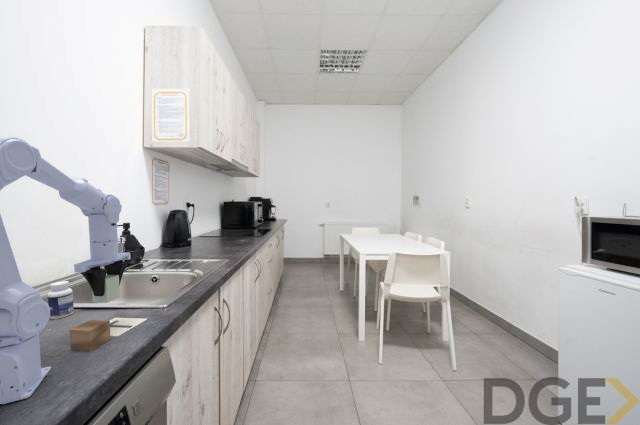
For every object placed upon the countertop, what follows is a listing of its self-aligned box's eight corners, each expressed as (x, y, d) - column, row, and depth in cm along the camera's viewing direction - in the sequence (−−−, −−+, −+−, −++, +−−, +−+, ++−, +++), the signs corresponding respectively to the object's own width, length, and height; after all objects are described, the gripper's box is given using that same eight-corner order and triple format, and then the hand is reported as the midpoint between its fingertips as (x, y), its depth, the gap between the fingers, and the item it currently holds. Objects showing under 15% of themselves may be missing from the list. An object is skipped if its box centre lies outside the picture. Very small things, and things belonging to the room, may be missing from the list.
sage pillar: (107, 302, 70) (105, 279, 70) (92, 302, 70) (91, 279, 70) (119, 297, 74) (118, 275, 74) (106, 296, 74) (105, 274, 74)
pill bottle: (45, 317, 80) (43, 284, 80) (69, 310, 85) (67, 279, 85) (53, 320, 78) (51, 286, 77) (77, 313, 83) (75, 281, 82)
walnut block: (90, 352, 61) (89, 330, 61) (71, 351, 62) (69, 329, 61) (110, 341, 66) (109, 320, 66) (92, 340, 67) (90, 319, 66)
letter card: (117, 337, 67) (117, 336, 67) (81, 336, 69) (81, 334, 69) (147, 319, 77) (147, 318, 77) (115, 318, 78) (115, 317, 78)
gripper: (92, 245, 64) (95, 303, 65) (139, 237, 78) (141, 284, 79) (64, 245, 65) (68, 302, 65) (116, 237, 79) (119, 284, 80)
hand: (107, 292), depth 72 cm, fingers closed on sage pillar, 4 cm apart
